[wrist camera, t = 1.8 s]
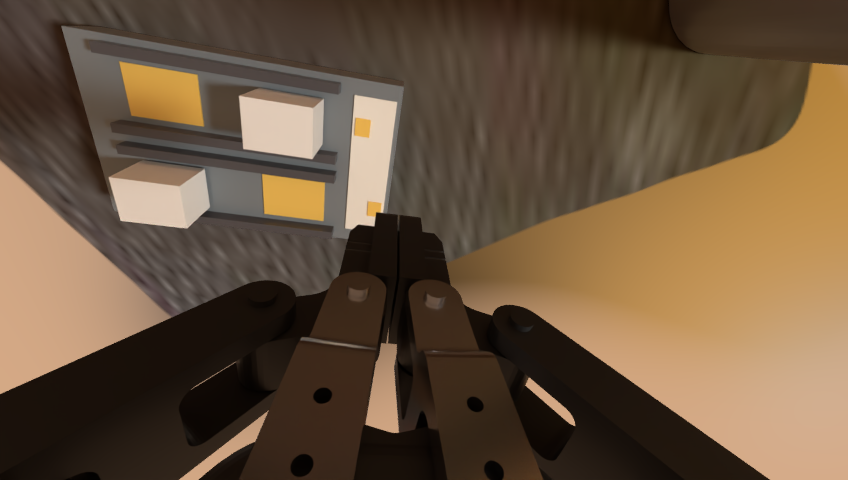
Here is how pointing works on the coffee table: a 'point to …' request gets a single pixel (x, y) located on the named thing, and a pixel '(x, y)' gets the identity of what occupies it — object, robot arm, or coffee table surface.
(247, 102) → the switch
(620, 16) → the coffee table surface
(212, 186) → the switch panel
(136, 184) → the switch
